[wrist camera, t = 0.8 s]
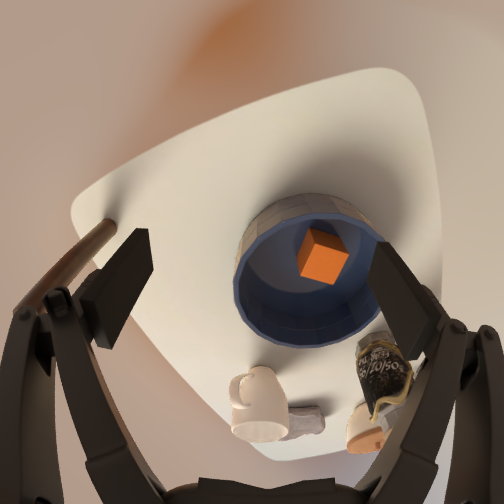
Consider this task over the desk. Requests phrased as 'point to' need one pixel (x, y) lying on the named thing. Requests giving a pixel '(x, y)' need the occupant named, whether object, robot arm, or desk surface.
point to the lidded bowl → (363, 432)
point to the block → (321, 256)
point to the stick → (70, 264)
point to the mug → (259, 406)
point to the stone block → (304, 422)
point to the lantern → (383, 378)
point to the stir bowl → (298, 287)
